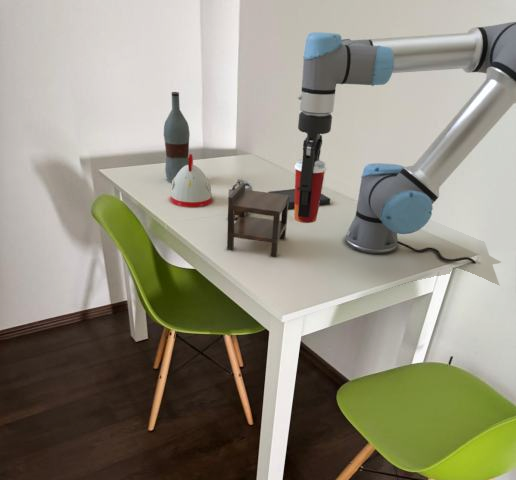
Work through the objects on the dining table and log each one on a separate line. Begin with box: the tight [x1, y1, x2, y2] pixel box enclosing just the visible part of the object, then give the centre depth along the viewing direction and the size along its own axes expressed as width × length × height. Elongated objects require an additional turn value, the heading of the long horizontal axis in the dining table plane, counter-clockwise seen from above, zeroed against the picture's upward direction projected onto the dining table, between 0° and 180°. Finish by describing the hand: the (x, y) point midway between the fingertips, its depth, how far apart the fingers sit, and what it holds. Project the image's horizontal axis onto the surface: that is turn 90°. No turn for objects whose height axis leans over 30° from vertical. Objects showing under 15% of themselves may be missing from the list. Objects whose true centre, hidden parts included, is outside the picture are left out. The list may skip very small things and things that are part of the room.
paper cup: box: [293, 158, 327, 224], centre depth 125 cm, size 8×8×14 cm
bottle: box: [163, 91, 191, 184], centre depth 183 cm, size 9×9×30 cm
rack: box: [226, 182, 289, 258], centre depth 142 cm, size 14×14×15 cm
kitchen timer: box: [170, 153, 213, 208], centre depth 170 cm, size 14×14×15 cm
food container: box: [227, 178, 253, 221], centre depth 161 cm, size 12×6×10 cm, turn 168°
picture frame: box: [267, 188, 331, 210], centre depth 179 cm, size 13×2×18 cm
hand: (305, 211), depth 128 cm, fingers closed on paper cup, 7 cm apart
